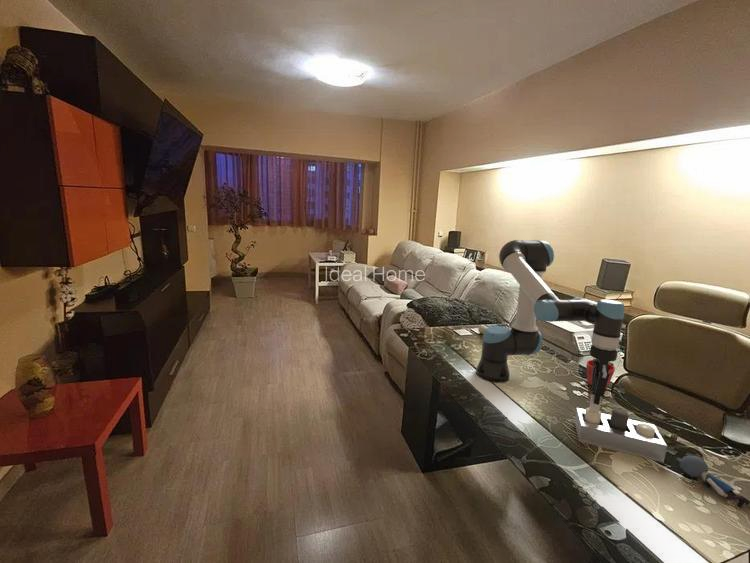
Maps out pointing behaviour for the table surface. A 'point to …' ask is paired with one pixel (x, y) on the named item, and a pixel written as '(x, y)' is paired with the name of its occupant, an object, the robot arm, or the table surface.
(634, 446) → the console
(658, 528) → the table surface
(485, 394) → the table surface
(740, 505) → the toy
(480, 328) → the carnation
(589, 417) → the knob
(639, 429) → the knob
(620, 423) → the knob mid
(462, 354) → the table surface
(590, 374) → the flower pot
